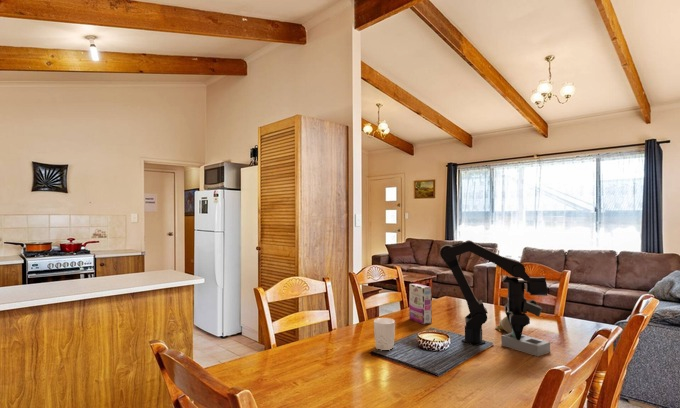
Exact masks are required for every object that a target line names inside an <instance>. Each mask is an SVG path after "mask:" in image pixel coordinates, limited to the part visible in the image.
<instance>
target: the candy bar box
mask: <svg viewBox="0 0 680 408" xmlns="http://www.w3.org/2000/svg"><path fill="white" fill-rule="evenodd" d="M408 287H409V289H408V290H409V291H408V292H409V293H408V295H409V296H408V298H409V304H408V306H409V307H408V309H409V310H408V311H409V313H408V314H409V315H408V317H409V319H410V320H412V321H414V322H417V323H418V324H419V323H420V324H422V325H429V324H433V323H432V321H433V319H432V318H433V316H432V315H433V311H432V309H433V307H432V303H433V302H432V298H433V296H432V295H433V294H432V293H433V292H432V286H427V285H425V284H420V283H409V286H408Z"/></svg>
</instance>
